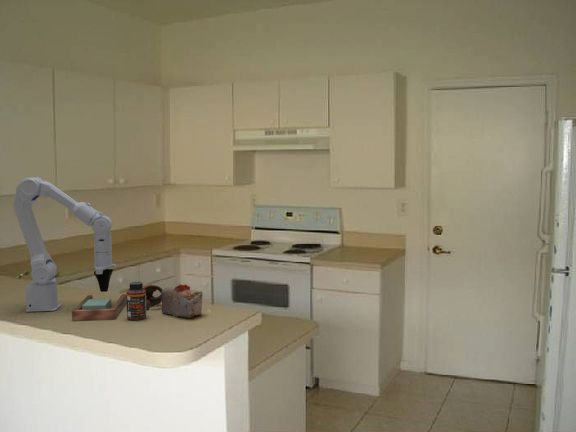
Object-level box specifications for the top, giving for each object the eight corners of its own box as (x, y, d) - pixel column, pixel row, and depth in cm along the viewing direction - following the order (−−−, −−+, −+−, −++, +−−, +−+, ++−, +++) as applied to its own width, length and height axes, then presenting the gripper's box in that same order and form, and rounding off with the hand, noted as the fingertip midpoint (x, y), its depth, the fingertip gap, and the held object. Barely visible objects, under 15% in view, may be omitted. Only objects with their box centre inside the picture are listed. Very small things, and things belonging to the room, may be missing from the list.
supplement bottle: (129, 321, 178) (128, 285, 176) (125, 317, 183) (123, 281, 182) (148, 319, 180) (147, 283, 179) (144, 314, 186) (143, 280, 185)
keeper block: (82, 320, 181) (82, 305, 180) (89, 312, 190) (88, 299, 189) (105, 319, 182) (105, 305, 181) (111, 311, 190) (110, 298, 190)
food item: (206, 315, 185) (206, 284, 184) (189, 321, 178) (189, 289, 177) (175, 309, 192) (174, 280, 191) (157, 314, 186) (156, 284, 185)
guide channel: (72, 320, 179) (71, 311, 179) (88, 303, 200) (88, 295, 200) (115, 319, 180) (114, 309, 180) (126, 302, 202) (126, 294, 201)
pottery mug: (165, 303, 202) (168, 285, 198) (158, 321, 194) (162, 303, 190) (131, 295, 201) (133, 277, 197) (123, 313, 193) (125, 295, 189)
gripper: (111, 254, 188) (112, 295, 190) (119, 248, 203) (120, 286, 204) (88, 255, 188) (89, 296, 189) (98, 248, 202) (99, 286, 203)
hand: (104, 291), depth 196 cm, fingers closed
